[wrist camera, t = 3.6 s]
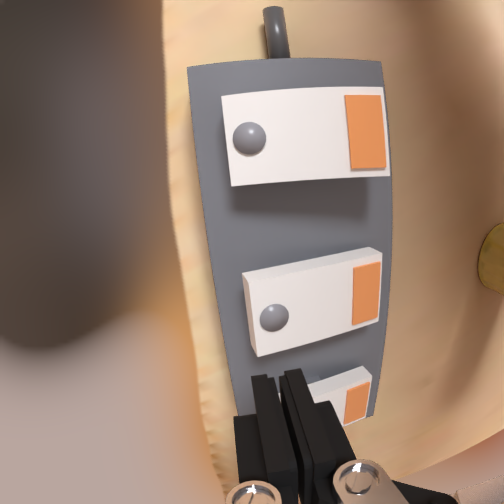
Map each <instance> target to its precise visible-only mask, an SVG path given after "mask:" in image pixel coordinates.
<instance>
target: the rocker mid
mask: <svg viewBox="0 0 504 504" xmlns="http://www.w3.org/2000/svg"><path fill="white" fill-rule="evenodd" d="M381 275H382V253H381V252H379V251H377V250H375V249H373V248H371V247H365V248H361V249H356V250H351V251H347V252H342V253H337V254H333V255H328V256H323V257H318V258H313V259H309V260H304V261H299V262H294V263H289V264H284V265H279V266H274V267H269V268H264V269H259V270H254V271H249V272H244V273H242V278H243V286H244V294H245V302H246V310H247V318H248V325H249V333H250V341H251V345H252V347H253V349H254V351H255V353H256V355H257V357H260V356H264V355H268V354H272V353H275V352H279V351H283V350H287V349H290V348H294V347H298V346H301V345H305V344H308V343H312V342H315V341H319V340H322V339H325V338H329V337H332V336H335V335H338V334H342V333H345V332H348V331H351V330H354V329H357V328H360V327H363V326H366V325H369V324H372V323H375V322H378V320H379V308H380V294H381Z"/></svg>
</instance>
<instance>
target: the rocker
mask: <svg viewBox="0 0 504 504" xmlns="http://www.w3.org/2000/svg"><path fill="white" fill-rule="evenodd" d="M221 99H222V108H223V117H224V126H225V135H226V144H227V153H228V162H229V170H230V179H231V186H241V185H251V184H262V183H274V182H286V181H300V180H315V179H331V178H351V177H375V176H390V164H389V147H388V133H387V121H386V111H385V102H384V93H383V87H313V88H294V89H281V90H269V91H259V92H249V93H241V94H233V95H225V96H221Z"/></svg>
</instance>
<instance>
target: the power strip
mask: <svg viewBox="0 0 504 504" xmlns="http://www.w3.org/2000/svg"><path fill="white" fill-rule="evenodd" d="M263 17H264V24H265V32H266V39H267V47H268V55H269V59H259V60H244V61H233V62H223V63H214V64H206V65H198V66H191V67H187V74H188V84H189V94H190V104H191V113H192V123H193V131H194V140H195V149H196V157H197V165H198V173H199V181H200V188H201V196H202V203H203V210H204V218H205V225H206V232H207V238H208V245H209V252H210V258H211V265H212V271H213V278H214V284H215V290H216V296H217V302H218V308H219V314H220V320H221V326H222V331H223V337H224V343H225V348H226V354H227V359H228V365H229V370H230V375H231V381H232V386H233V391H234V396H235V401H236V406H237V411H238V416H242V415H250V414H256V409H255V402H254V396H253V389H252V382H251V376H255V375H262V374H267V376H268V378H270V377H274V379H275V383H276V387H277V390H278V393H280V388H279V376H282V375H284V371H287V370H292V369H298V368H301V370H302V372H303V375H304V377H305V380H306V382H307V385H308V384H311V383H314V382H317V381H320V380H323V379H326V378H329V377H332V376H335V375H338V374H341V373H344V372H346V371H349V370H352V369H355V368H357V367H360V366H363V367H364V368H365V369H366V370H367V371H368V372H369V373H370V374H371V375H372V381H371V388H370V395H369V401H368V407H367V413H366V418H367V417H370V416H373V413H374V408H375V402H376V397H377V391H378V385H379V379H380V372H381V366H382V359H383V351H384V343H385V335H386V326H387V316H388V305H389V292H390V277H391V257H392V172H391V152H390V137H389V125H388V114H387V104H386V96H385V87H384V80H383V73H382V66H381V62H379V61H368V60H354V59H332V58H290V52H289V44H288V37H287V31H286V24H285V17H284V11H283V8H282V7H278V6H271V7H267V8H265V9H263ZM313 87H383V93H384V102H385V111H386V121H387V133H388V147H389V164H390V176H375V177H351V178H331V179H315V180H300V181H286V182H274V183H262V184H251V185H241V186H231V179H230V170H229V162H228V153H227V144H226V135H225V126H224V117H223V108H222V99H221V96H225V95H233V94H241V93H249V92H259V91H269V90H281V89H294V88H313ZM365 247H371V248H373V249H375V250H377V251H379V252H381V253H382V275H381V294H380V308H379V320H378V322H375V323H372V324H369V325H366V326H363V327H360V328H357V329H354V330H351V331H348V332H345V333H342V334H338V335H335V336H332V337H329V338H325V339H322V340H319V341H315V342H312V343H308V344H305V345H301V346H298V347H294V348H290V349H287V350H283V351H279V352H275V353H272V354H268V355H264V356H260V357H257V355H256V353H255V351H254V349H253V347H252V345H251V341H250V333H249V325H248V318H247V310H246V302H245V294H244V286H243V278H242V273H244V272H249V271H254V270H259V269H264V268H269V267H274V266H279V265H284V264H289V263H294V262H299V261H304V260H309V259H313V258H318V257H323V256H328V255H333V254H337V253H342V252H347V251H351V250H356V249H361V248H365Z"/></svg>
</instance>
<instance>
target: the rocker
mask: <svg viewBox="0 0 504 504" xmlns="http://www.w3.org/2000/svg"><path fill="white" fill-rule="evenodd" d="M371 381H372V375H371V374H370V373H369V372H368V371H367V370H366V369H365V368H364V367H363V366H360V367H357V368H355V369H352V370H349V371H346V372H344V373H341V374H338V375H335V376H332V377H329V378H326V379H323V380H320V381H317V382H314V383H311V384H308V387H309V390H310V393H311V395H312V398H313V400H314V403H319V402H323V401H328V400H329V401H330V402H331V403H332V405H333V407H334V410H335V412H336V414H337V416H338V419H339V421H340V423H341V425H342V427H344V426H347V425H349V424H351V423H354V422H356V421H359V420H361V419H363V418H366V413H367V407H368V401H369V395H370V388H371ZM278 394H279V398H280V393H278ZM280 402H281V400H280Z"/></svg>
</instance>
